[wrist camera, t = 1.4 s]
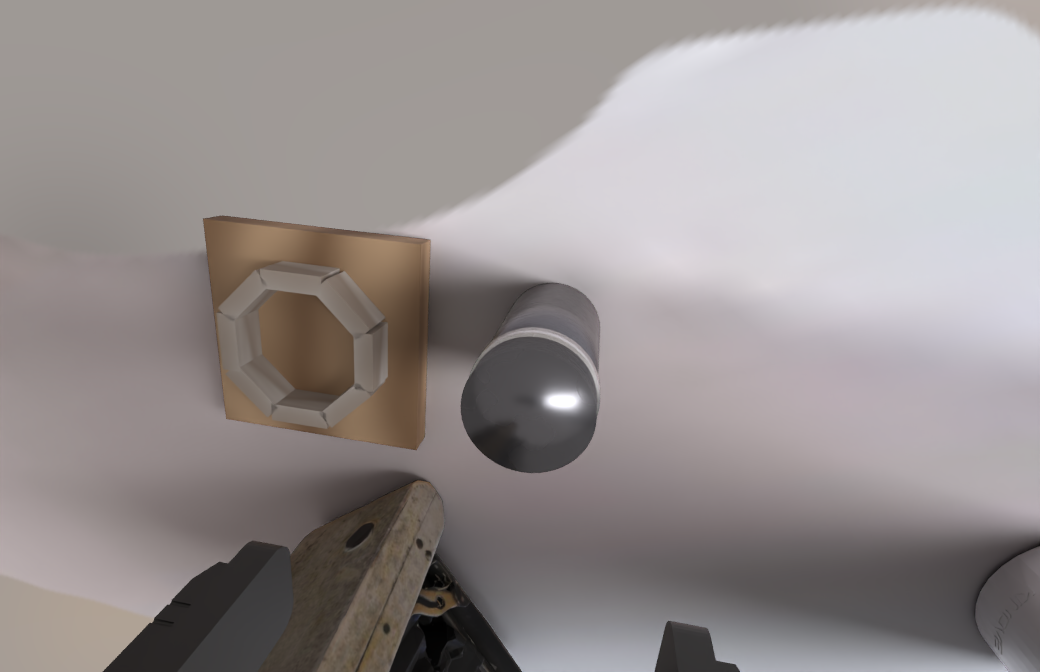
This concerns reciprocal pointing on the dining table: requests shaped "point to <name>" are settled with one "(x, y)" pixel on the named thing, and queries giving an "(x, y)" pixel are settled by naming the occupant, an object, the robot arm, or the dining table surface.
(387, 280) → the mount
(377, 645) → the vintage camera
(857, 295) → the dining table surface
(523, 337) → the lens
